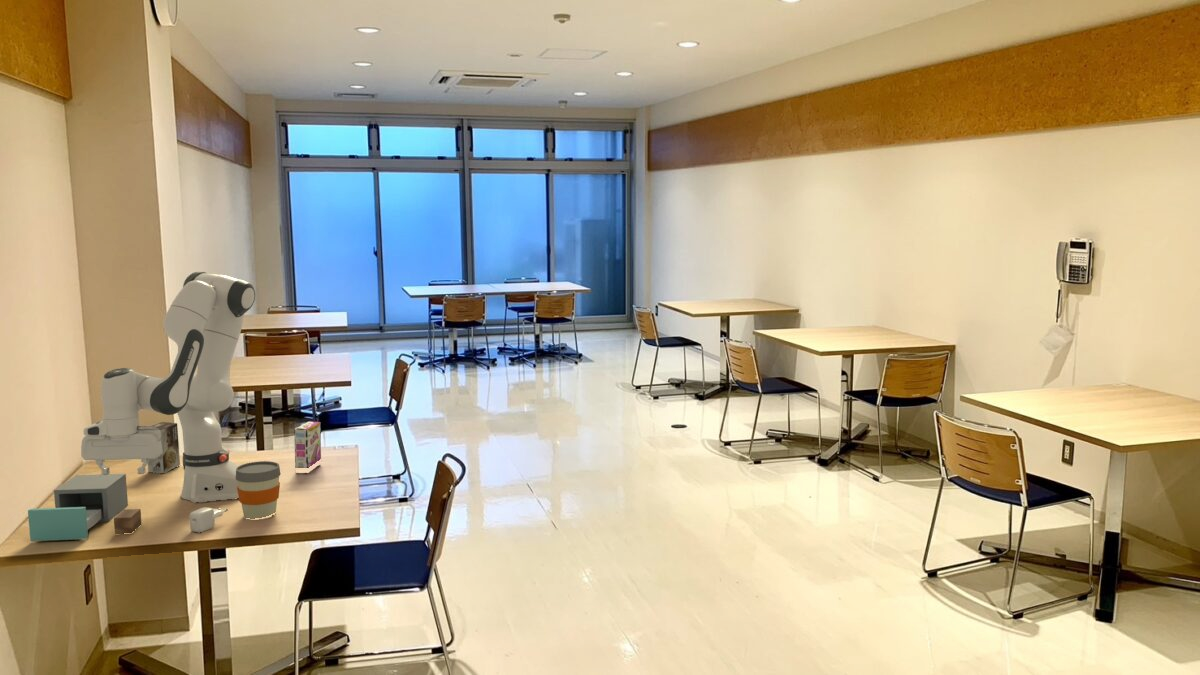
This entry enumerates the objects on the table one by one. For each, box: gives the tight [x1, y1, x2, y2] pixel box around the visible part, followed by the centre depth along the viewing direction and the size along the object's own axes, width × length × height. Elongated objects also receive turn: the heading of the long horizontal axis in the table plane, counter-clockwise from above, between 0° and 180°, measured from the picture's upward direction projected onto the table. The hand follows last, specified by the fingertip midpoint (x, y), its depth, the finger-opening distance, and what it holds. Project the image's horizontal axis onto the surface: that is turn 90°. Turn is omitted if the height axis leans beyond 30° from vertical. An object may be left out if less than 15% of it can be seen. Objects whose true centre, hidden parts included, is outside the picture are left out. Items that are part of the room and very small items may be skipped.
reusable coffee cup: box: [236, 460, 281, 519], centre depth 247 cm, size 13×13×15 cm
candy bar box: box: [294, 421, 322, 469], centre depth 291 cm, size 11×5×16 cm, turn 174°
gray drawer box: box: [53, 473, 129, 523], centre depth 245 cm, size 14×14×10 cm
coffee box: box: [147, 421, 181, 474], centre depth 289 cm, size 9×6×16 cm
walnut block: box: [113, 508, 142, 535], centre depth 234 cm, size 4×7×5 cm, turn 10°
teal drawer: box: [27, 507, 102, 542], centre depth 231 cm, size 14×14×9 cm
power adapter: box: [189, 506, 229, 533], centre depth 238 cm, size 11×5×6 cm, turn 160°
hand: (123, 474), depth 232 cm, fingers open, 8 cm apart
